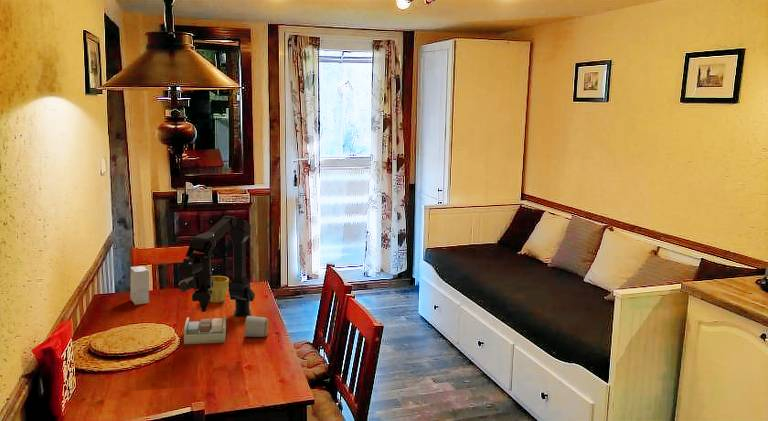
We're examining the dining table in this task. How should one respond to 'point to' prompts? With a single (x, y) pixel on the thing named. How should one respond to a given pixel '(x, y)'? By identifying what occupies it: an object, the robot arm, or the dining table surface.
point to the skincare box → (139, 285)
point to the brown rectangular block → (205, 325)
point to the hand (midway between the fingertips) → (203, 311)
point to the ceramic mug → (256, 326)
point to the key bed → (204, 335)
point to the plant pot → (219, 288)
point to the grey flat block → (193, 327)
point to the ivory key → (217, 324)
